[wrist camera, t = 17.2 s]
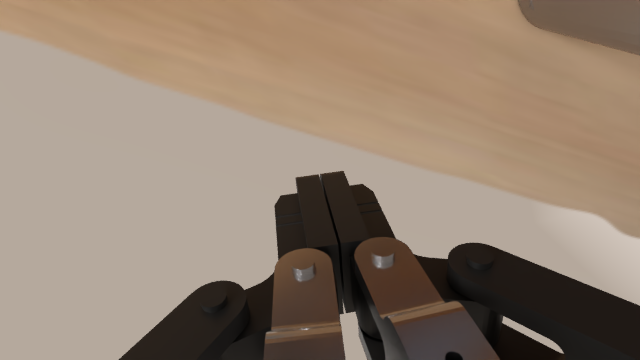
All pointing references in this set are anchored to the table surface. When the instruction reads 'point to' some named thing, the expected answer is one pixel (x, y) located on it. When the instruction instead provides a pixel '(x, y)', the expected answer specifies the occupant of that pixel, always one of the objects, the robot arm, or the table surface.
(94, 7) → the table surface
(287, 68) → the table surface
